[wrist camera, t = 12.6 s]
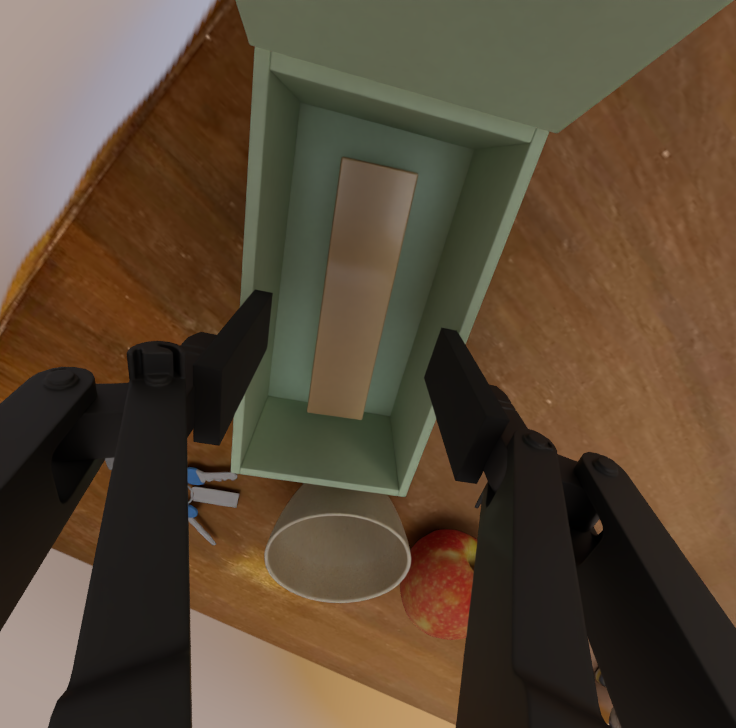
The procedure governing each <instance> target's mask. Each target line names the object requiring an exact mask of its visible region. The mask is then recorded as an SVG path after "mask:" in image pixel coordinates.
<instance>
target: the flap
mask: <svg viewBox="0 0 736 728" xmlns="http://www.w3.org/2000/svg"><path fill="white" fill-rule="evenodd" d="M732 1H733V0H236V3H237V6H238V10H239V13H240V16H241V19H242V22H243V25H244V28H245V31H246V35H247V38H248V41H249V44H250V45H252V46H256V47H259V48H263V49H266V50H269V51H273V52H276V53H280V54H283V55H287V56H290V57H294V58H297V59H301V60H304V61H308V62H311V63H315V64H318V65H321V66H325V67H328V68H332V69H335V70H339V71H342V72H346V73H349V74H353V75H356V76H360V77H363V78H367V79H370V80H374V81H377V82H380V83H384V84H387V85H391V86H394V87H398V88H401V89H405V90H408V91H412V92H415V93H419V94H422V95H426V96H429V97H432V98H436V99H439V100H443V101H446V102H450V103H453V104H457V105H460V106H464V107H467V108H471V109H474V110H478V111H481V112H484V113H488V114H491V115H495V116H498V117H502V118H505V119H509V120H512V121H516V122H519V123H523V124H526V125H530V126H533V127H536V128H540V129H543V130H547V131H550V132H554V133H559V132H560V131H561V130H563V129H564V128H565V127H567V126H568V125H569V124H570V123H572V122H573V121H574V120H576V119H577V118H578V117H580V116H581V115H582V114H584V113H585V112H586V111H588V110H589V109H590V108H592V107H593V106H594V105H596V104H597V103H598V102H600V101H601V100H602V99H604V98H605V97H606V96H608V95H609V94H610V93H612V92H613V91H614V90H616V89H617V88H618V87H619V86H621V85H622V84H623V83H625V82H626V81H627V80H629V79H630V78H631V77H633V76H634V75H635V74H637V73H638V72H639V71H641V70H642V69H643V68H645V67H646V66H647V65H649V64H650V63H651V62H653V61H654V60H655V59H657V58H658V57H659V56H661V55H662V54H663V53H665V52H666V51H667V50H668V49H670V48H671V47H672V46H674V45H675V44H676V43H678V42H679V41H680V40H682V39H683V38H684V37H686V36H687V35H688V34H690V33H691V32H692V31H694V30H695V29H696V28H698V27H699V26H700V25H702V24H703V23H704V22H706V21H707V20H708V19H710V18H711V17H712V16H714V15H715V14H716V13H717V12H719V11H720V10H721V9H723V8H724V7H725V6H727V5H728V4H729V3H731V2H732Z"/></svg>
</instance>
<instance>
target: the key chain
mask: <svg viewBox="0 0 736 728" xmlns="http://www.w3.org/2000/svg"><path fill="white" fill-rule="evenodd" d="M105 460H106V463H107V466H108V468H109V469H110V470H112V467H113V462H114V458H105ZM213 479H215V481H222V480H221V479H223V480H227V479H231V480H235V479H237V474H236V473H231V472H205V473H204V472H203V471H200V470H198V469H197V468H193V467H188V483H190V484H193V485H202V484H204V483H205V481H206V480H207V481H208V482H210V481H213ZM188 488H189V489H190V490H191V499H190V501H189V502H188V521H189V522H190V523H191V524H192V525H193V526H194V527H195V528H196V529H197V530H198V531H199V533H200V534H201V535H203V536H204V537H205V538H206V539H207V540H208V541H209V542H210V543H211V544H212V545H216V543H215V541H214V540H213V539H212V538H211V536H210V535H209V534H208V533H207V532H206V531H205V530H204V529H203V528H202V526H201V525H200V524H199V523H198V522H197V521H196V520H195V519H194V517H196V516H197V514H198V511H197V509H196V508H195V507H193V506H191V505H189V503H190V502H191V501H192V500H193V501H197V502H203V503H209V504H216V505H222V506H229V507H235V508H236V507H237V502H238V497H239V493H233V492H227V491H220V490H214V489H208V488H202V487H196V486H195V487H193V488H192V489H191V488H190V486H188ZM193 492H194V493H193Z"/></svg>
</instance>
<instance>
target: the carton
mask: <svg viewBox="0 0 736 728" xmlns="http://www.w3.org/2000/svg"><path fill="white" fill-rule="evenodd" d="M548 134H549V131H547V130H543V129H540V128H536V127H533V126H530V125H526V124H523V123H519V122H516V121H512V120H509V119H505V118H502V117H498V116H495V115H491V114H488V113H484V112H481V111H478V110H474V109H471V108H467V107H464V106H460V105H457V104H453V103H450V102H446V101H443V100H439V99H436V98H432V97H429V96H426V95H422V94H419V93H415V92H412V91H408V90H405V89H401V88H398V87H394V86H391V85H387V84H384V83H380V82H377V81H374V80H370V79H367V78H363V77H360V76H356V75H353V74H349V73H346V72H342V71H339V70H335V69H332V68H328V67H325V66H321V65H318V64H315V63H311V62H308V61H304V60H301V59H297V58H294V57H290V56H287V55H283V54H280V53H276V52H273V51H272V52H271V51H269V50H266V49H263V48H259V47H255V52H254V70H253V87H252V105H251V123H250V140H249V158H248V175H247V193H246V211H245V228H244V246H243V263H242V281H241V299H240V307H241V305H242V304H243V303H244V302H245V301H246V299H247V298H248V297H249V296H250V295H251V293H252V292H253V291H254V290H255V289H256V290H261V291H266V292H271V293H273V296H272V306H271V316H270V326H269V336H268V346H267V350H266V352H265V354H264V356H263V358H262V360H261V362H260V364H259V366H258V368H257V370H256V372H255V374H254V376H253V378H252V380H251V382H250V384H249V386H248V389H247V391H246V393H245V395H244V397H243V399H242V401H241V403H240V405H239V407H238V409H237V411H236V413H235V415H234V422H233V439H232V457H231V473H236V474H239V473H240V474H244V475H251V476H258V477H265V478H272V479H279V480H287V481H294V482H301V483H308V484H315V485H322V486H329V487H337V488H344V489H351V490H358V491H365V492H372V493H379V494H387V495H394V496H397V495H398V496H401V497H405V496H406V494H407V491H408V489H409V486H410V484H411V481H412V479H413V476H414V473H415V471H416V468H417V466H418V463H419V461H420V458H421V456H422V453H423V451H424V448H425V446H426V443H427V441H428V438H429V435H430V433H431V430H432V428H433V425H434V423H435V420H436V416H435V413H434V409H433V406H432V403H431V399H430V396H429V393H428V390H427V386H426V383H425V380H424V376H425V373H426V370H427V367H428V364H429V361H430V358H431V356H432V353H433V350H434V347H435V344H436V341H437V338H438V336H439V333H440V330H441V327H442V328H447V329H452V330H457V332H458V333H459V335H460V336H461V338H462V340H463V341H464V343H465V344H466V342H467V339H468V337H469V334H470V331H471V329H472V326H473V324H474V321H475V319H476V316H477V314H478V311H479V309H480V306H481V304H482V301H483V299H484V296H485V293H486V291H487V288H488V286H489V283H490V281H491V278H492V276H493V273H494V271H495V268H496V266H497V263H498V260H499V258H500V255H501V253H502V250H503V248H504V245H505V243H506V240H507V238H508V235H509V233H510V230H511V227H512V225H513V222H514V220H515V217H516V215H517V212H518V210H519V207H520V205H521V202H522V200H523V197H524V195H525V192H526V189H527V187H528V184H529V182H530V179H531V177H532V174H533V172H534V169H535V167H536V164H537V162H538V159H539V156H540V154H541V151H542V149H543V146H544V144H545V141H546V139H547V136H548ZM342 157H348V158H352V159H357V160H361V161H366V162H370V163H375V164H380V165H384V166H389V167H393V168H398V169H402V170H407V171H411V172H416V173H418V175H419V176H418V180H417V184H416V189H415V193H414V197H413V202H412V206H411V210H410V215H409V219H408V223H407V228H406V232H405V236H404V241H403V245H402V249H401V254H400V258H399V262H398V267H397V271H396V275H395V280H394V284H393V288H392V293H391V297H390V301H389V306H388V310H387V314H386V319H385V323H384V327H383V332H382V336H381V340H380V345H379V349H378V353H377V358H376V362H375V366H374V371H373V375H372V379H371V384H370V388H369V392H368V396H367V401H366V405H365V409H364V414H363V418H362V420H357V419H350V418H343V417H336V416H329V415H321V414H314V413H308V412H307V405H308V398H309V390H310V383H311V376H312V368H313V361H314V354H315V346H316V339H317V332H318V324H319V317H320V310H321V302H322V295H323V288H324V280H325V273H326V266H327V258H328V251H329V244H330V236H331V229H332V222H333V214H334V207H335V200H336V192H337V185H338V178H339V170H340V163H341V158H342Z"/></svg>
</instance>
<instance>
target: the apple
mask: <svg viewBox="0 0 736 728" xmlns="http://www.w3.org/2000/svg"><path fill="white" fill-rule="evenodd" d="M476 548H477V539H476V538H474V537H473V536H470V535H468V534H467V533H464V532H462V531H458V530H453V529H441V530H436V531H433V532H431V533H429V534H428V535H426V536H424V537H422V538H421V539H420V540H419V541H417V542H416V544H415V545H414V546H413V547H412V549H411V550H410V553H411V565H410V569H409V571H408V573H407V575H406V577H405V578H404V579H403V580H402V582H401V583H400V592H401V597H402V602H403V605H404V608H405V611H406V613H407V615H408V617H409V618H410V620H411V621H412V622H413V623H414V624H415V625H416V626H417V627H418V628H419V629H420V630H421V631H423V632H425V633H426V634H428V635H430V636H432V637H437V638H442V639H447V640H453V639H462V638H465V637H466V635H467V626H468V618H469V609H470V600H471V591H472V583H473V574H474V565H475V557H476Z"/></svg>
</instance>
